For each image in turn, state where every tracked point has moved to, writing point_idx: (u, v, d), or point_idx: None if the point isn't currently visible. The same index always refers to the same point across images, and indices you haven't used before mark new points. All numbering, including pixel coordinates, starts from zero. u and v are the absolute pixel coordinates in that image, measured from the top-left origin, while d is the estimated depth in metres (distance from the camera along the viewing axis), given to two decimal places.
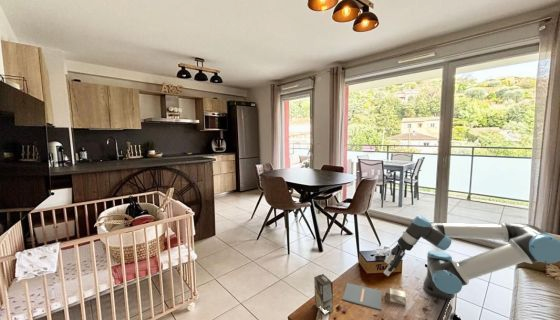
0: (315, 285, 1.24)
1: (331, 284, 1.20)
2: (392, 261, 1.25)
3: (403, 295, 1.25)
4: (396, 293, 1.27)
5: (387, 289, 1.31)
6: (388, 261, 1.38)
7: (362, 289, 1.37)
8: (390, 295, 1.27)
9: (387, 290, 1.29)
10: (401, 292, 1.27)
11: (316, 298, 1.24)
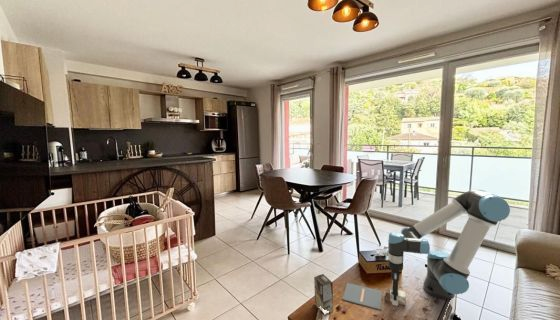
0: (315, 285, 1.24)
1: (331, 284, 1.20)
2: None
3: (403, 295, 1.25)
4: None
5: (387, 289, 1.31)
6: None
7: (362, 289, 1.37)
8: (390, 295, 1.27)
9: (387, 290, 1.29)
10: (401, 292, 1.27)
11: (316, 298, 1.24)
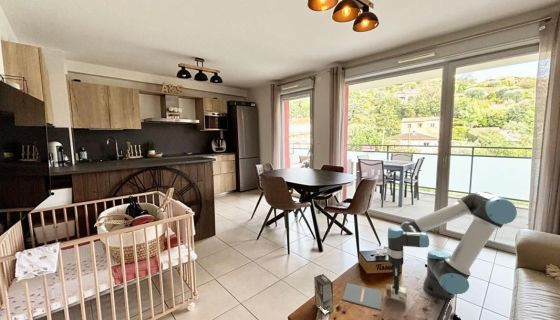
0: (315, 285, 1.24)
1: (331, 284, 1.20)
2: None
3: (404, 291, 1.25)
4: None
5: (388, 285, 1.30)
6: None
7: (362, 289, 1.37)
8: (391, 291, 1.26)
9: (388, 286, 1.29)
10: (402, 288, 1.27)
11: (316, 298, 1.24)
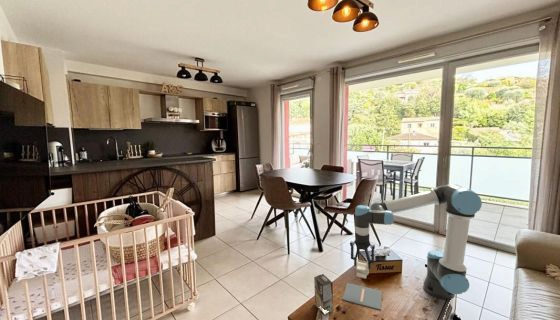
0: (315, 285, 1.24)
1: (331, 284, 1.20)
2: None
3: (359, 268, 1.28)
4: (360, 265, 1.30)
5: (365, 262, 1.34)
6: None
7: (362, 289, 1.37)
8: (358, 263, 1.34)
9: (362, 261, 1.34)
10: (363, 268, 1.27)
11: (316, 298, 1.24)
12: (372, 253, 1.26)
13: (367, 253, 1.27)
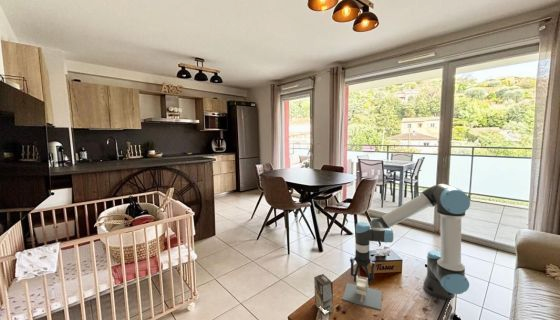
0: (315, 285, 1.24)
1: (331, 284, 1.20)
2: None
3: (358, 285, 1.28)
4: (360, 281, 1.31)
5: (365, 278, 1.35)
6: None
7: None
8: (358, 279, 1.35)
9: (362, 277, 1.35)
10: (363, 285, 1.28)
11: (316, 298, 1.24)
12: (372, 270, 1.27)
13: (367, 270, 1.28)
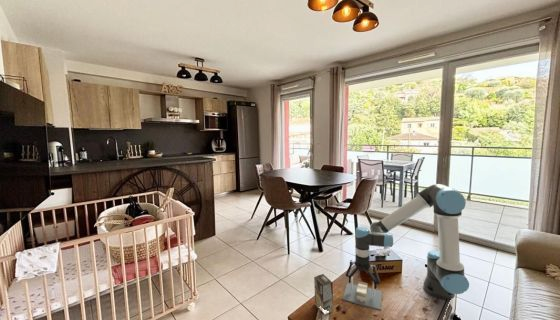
0: (315, 285, 1.24)
1: (331, 284, 1.20)
2: None
3: (358, 290, 1.29)
4: (360, 287, 1.32)
5: (365, 283, 1.35)
6: None
7: None
8: (358, 285, 1.35)
9: (362, 283, 1.35)
10: (363, 291, 1.29)
11: (316, 298, 1.24)
12: (375, 273, 1.27)
13: (370, 274, 1.28)
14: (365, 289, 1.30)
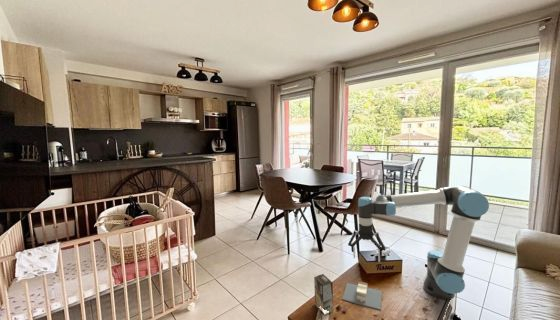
0: (315, 285, 1.24)
1: (331, 284, 1.20)
2: None
3: (358, 290, 1.29)
4: (360, 287, 1.32)
5: (365, 283, 1.35)
6: (378, 258, 1.31)
7: None
8: (358, 285, 1.35)
9: (362, 283, 1.35)
10: (363, 291, 1.29)
11: (316, 298, 1.24)
12: (379, 241, 1.29)
13: (374, 241, 1.30)
14: (365, 289, 1.30)
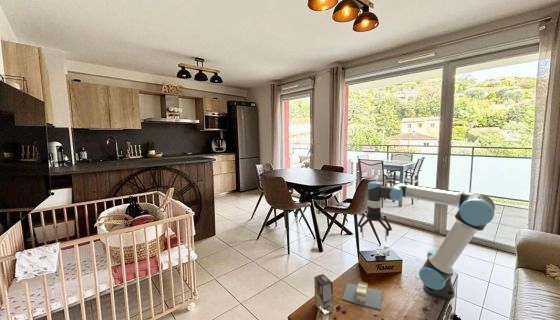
0: (315, 285, 1.24)
1: (331, 284, 1.20)
2: None
3: (358, 290, 1.29)
4: (360, 287, 1.32)
5: (365, 283, 1.35)
6: (385, 238, 1.42)
7: None
8: (358, 285, 1.35)
9: (362, 283, 1.35)
10: (363, 291, 1.29)
11: (316, 298, 1.24)
12: (386, 222, 1.40)
13: (382, 222, 1.41)
14: (365, 289, 1.30)
